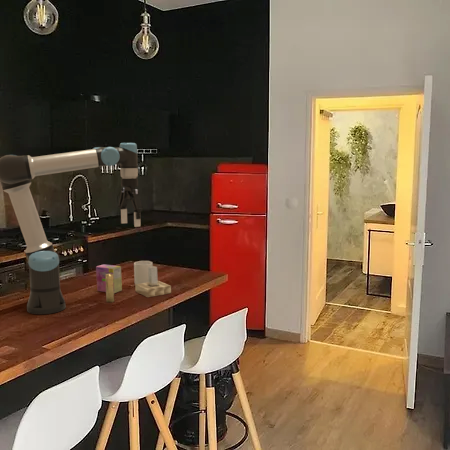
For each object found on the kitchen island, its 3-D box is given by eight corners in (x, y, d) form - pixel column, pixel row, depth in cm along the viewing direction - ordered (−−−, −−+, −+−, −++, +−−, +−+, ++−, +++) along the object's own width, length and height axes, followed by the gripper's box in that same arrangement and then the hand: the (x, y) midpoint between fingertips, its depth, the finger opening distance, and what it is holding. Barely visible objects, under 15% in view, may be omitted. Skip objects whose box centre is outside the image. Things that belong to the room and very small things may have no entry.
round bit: (108, 302, 229) (107, 275, 227) (105, 301, 231) (104, 274, 230) (115, 301, 231) (114, 274, 229) (112, 300, 233) (111, 273, 232)
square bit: (152, 293, 243) (151, 268, 242) (148, 292, 246) (148, 266, 244) (157, 292, 245) (157, 267, 243) (154, 291, 247) (154, 266, 246)
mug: (149, 287, 254) (148, 265, 252) (131, 287, 256) (131, 264, 254) (157, 281, 265) (157, 260, 264) (140, 281, 267) (140, 259, 266)
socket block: (147, 297, 237) (147, 289, 237) (135, 291, 247) (135, 284, 246) (171, 293, 244) (170, 285, 244) (158, 287, 254) (158, 280, 253)
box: (96, 291, 249) (95, 266, 247) (104, 288, 254) (103, 263, 252) (114, 293, 244) (113, 268, 242) (122, 290, 249) (121, 266, 247)
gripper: (150, 178, 230) (151, 227, 233) (125, 176, 250) (126, 221, 253) (134, 179, 225) (135, 228, 228) (110, 177, 245) (111, 222, 248)
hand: (130, 224), depth 240 cm, fingers open, 13 cm apart
